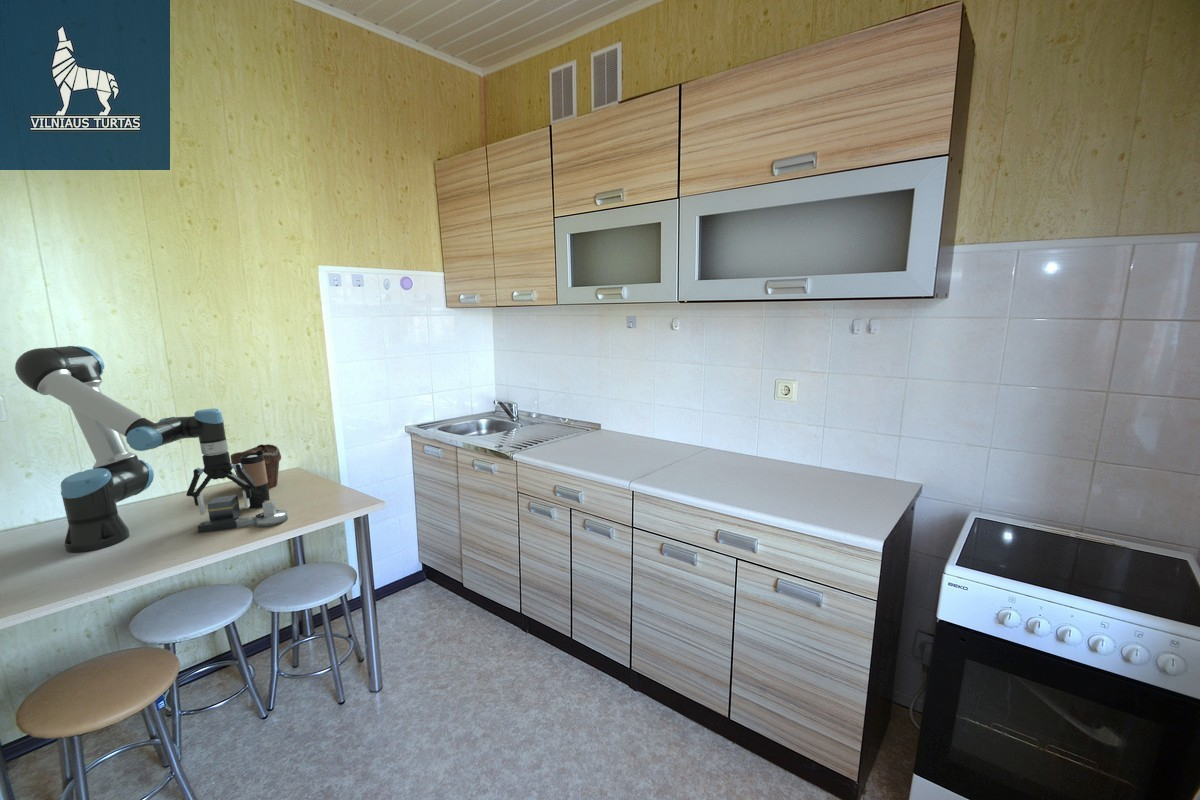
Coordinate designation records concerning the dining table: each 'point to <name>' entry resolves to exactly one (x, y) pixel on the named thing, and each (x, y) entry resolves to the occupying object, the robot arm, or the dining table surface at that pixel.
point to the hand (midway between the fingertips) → (225, 510)
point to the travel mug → (256, 478)
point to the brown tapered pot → (270, 458)
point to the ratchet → (248, 520)
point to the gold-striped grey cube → (224, 508)
